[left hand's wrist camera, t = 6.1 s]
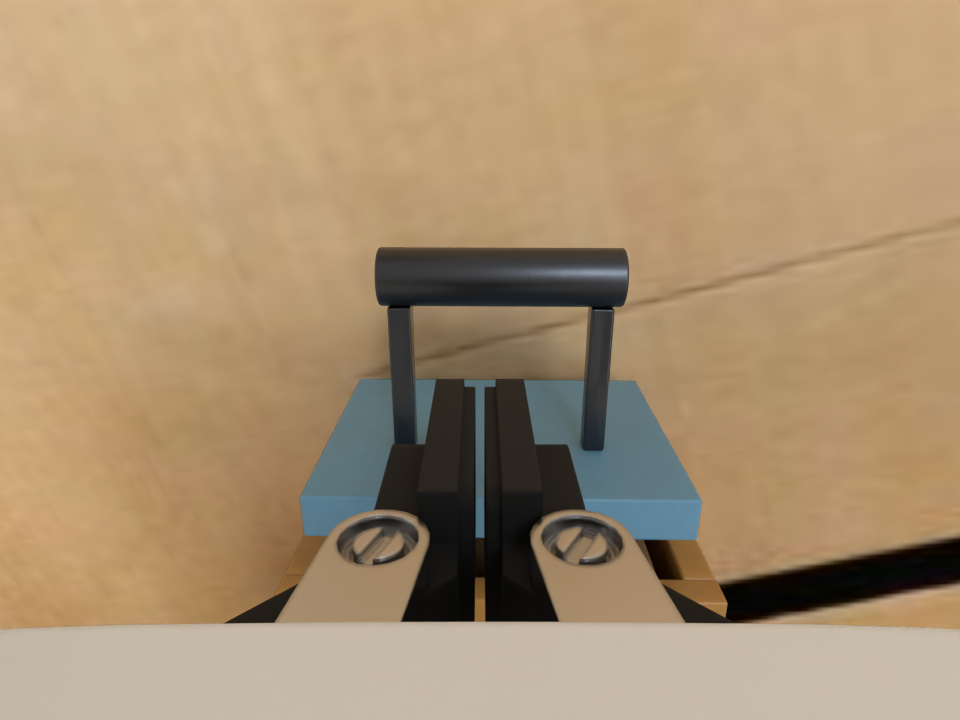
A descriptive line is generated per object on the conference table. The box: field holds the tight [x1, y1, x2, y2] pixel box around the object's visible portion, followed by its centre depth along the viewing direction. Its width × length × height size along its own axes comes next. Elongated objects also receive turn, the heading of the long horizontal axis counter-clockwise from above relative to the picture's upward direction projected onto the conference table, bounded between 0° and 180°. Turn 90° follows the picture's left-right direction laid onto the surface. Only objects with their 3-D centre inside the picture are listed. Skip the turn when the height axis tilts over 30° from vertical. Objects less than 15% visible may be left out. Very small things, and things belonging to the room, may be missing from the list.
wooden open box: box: [275, 534, 727, 622], centre depth 23 cm, size 17×11×10 cm, turn 0°
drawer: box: [300, 247, 702, 578], centre depth 21 cm, size 22×10×8 cm, turn 0°
